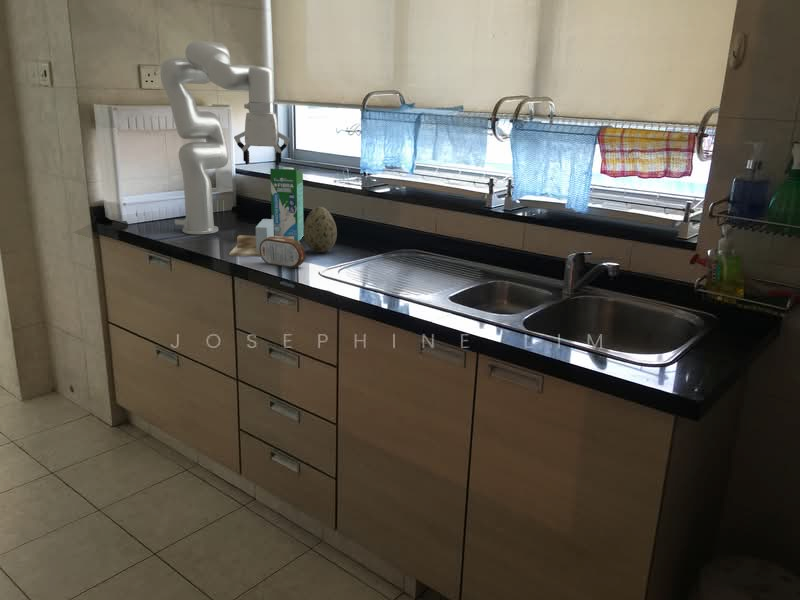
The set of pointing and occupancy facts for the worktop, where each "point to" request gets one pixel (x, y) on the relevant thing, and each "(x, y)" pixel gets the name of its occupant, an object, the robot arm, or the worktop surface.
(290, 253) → the tin
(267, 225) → the pale blue notched block
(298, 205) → the milk carton
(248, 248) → the straw hat
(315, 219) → the decorative egg
